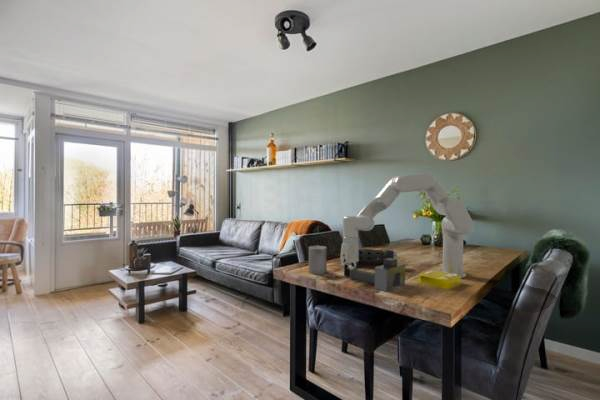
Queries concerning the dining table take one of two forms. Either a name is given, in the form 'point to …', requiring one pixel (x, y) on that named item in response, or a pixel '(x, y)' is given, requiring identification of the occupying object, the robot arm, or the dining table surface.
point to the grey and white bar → (361, 275)
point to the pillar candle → (317, 260)
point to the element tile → (440, 279)
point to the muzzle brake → (374, 257)
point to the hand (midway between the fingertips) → (349, 275)
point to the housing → (389, 275)
